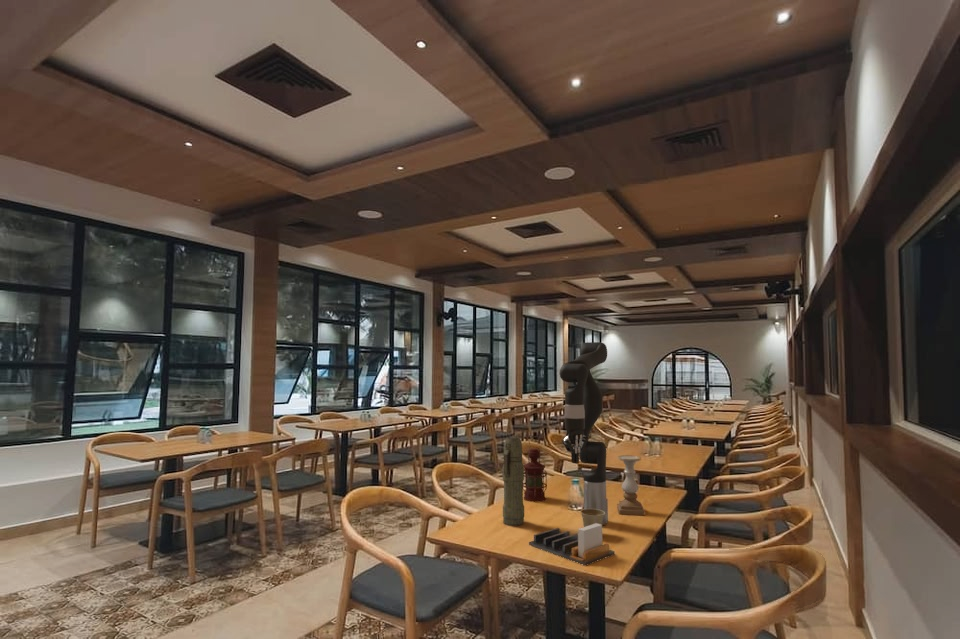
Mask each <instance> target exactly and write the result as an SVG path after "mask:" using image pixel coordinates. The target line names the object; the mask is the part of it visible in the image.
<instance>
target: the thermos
mask: <svg viewBox="0 0 960 639" xmlns="http://www.w3.org/2000/svg"><path fill="white" fill-rule="evenodd" d="M523 465H524V463H523V443H522V439H521V438H520V437H518V436H507V438H505V440H504V444H503V464H502V481H503V504H502V517H503V518H502V519H503V520H502V523H503V525H506V526H510V527H518V526H522V524H523V525H524V523H525V505H524V490H523V489H524V487H523V483H524V481H525V477H524V475H525V474H524V471H525V470H524V466H523Z"/></svg>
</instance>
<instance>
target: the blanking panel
mask: <svg viewBox="0 0 960 639" xmlns="http://www.w3.org/2000/svg"><path fill="white" fill-rule="evenodd" d="M577 534H578V556H579V557H582V558H583V552H585V551H588V550H591V549H593V548H596V547H599V546H602V545H603V525H601V524H597V523H596V524H592V525H589V526H586V527H584V526H583V527H581V528H578V529H577Z"/></svg>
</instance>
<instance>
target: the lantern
mask: <svg viewBox="0 0 960 639" xmlns="http://www.w3.org/2000/svg"><path fill="white" fill-rule="evenodd" d="M532 438H538V439H540V437H539V436H535V435H534V436H531V437H529V439H528V444H529V450H528V452H527V457H528V458H527V463H526V464H523V466H524V471H525V472H524V481H525V482H523V500H524V501H526V502H532V501H534V503H536V502H535V501H540V502H543V500H544V501H545V500H546V495H545V494H546V493H545V492H546V490H547V489H548V487H547V486H548V485H547V484H548V483H546V482H547V476H548V474H547V471H546V470H545V468H546V465H545V464H542V462H541V451H540V448H539V447H537V448H531V443H530V440H531V439H532ZM539 443H540V440H538V441H537V444H539ZM544 478H545V479H544ZM544 480H545V482H544ZM524 488H525V489H524Z"/></svg>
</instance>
